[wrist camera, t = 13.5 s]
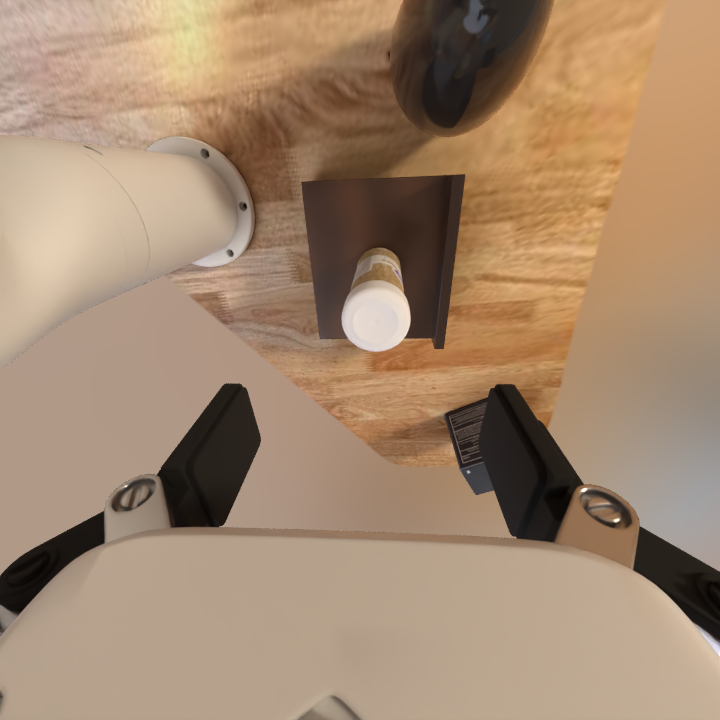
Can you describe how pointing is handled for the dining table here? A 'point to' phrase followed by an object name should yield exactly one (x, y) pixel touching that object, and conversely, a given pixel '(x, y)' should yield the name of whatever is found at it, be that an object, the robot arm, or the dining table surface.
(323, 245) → the shelf
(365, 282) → the sprinkles bottle
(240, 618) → the robot arm
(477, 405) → the small box
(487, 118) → the pump dispenser
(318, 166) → the dining table surface
